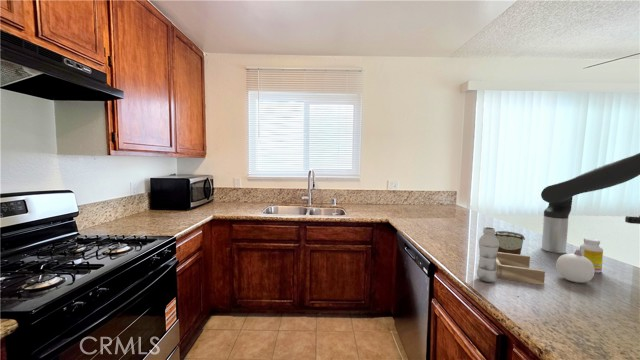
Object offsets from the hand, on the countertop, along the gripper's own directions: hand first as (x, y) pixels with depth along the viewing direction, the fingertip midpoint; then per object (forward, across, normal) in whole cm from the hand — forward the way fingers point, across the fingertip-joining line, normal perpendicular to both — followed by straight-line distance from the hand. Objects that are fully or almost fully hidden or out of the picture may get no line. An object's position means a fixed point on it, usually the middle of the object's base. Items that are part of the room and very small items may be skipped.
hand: (626, 219), depth 91 cm
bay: (+31, 0, +24) cm, 40 cm away
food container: (+28, -27, +25) cm, 46 cm away
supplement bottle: (+2, -16, +25) cm, 30 cm away
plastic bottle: (+43, +13, +25) cm, 51 cm away
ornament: (+13, 0, +25) cm, 28 cm away
